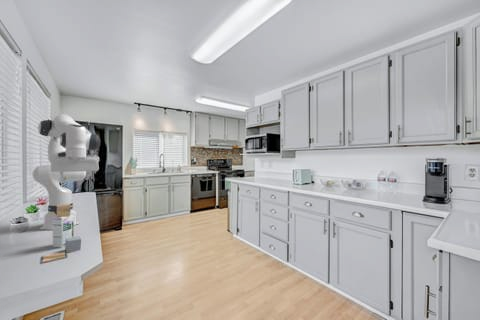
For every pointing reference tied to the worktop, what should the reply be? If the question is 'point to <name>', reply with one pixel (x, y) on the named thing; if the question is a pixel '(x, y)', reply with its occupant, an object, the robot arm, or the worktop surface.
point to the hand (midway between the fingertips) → (75, 180)
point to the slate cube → (72, 244)
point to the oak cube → (63, 210)
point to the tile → (53, 257)
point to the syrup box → (62, 230)
